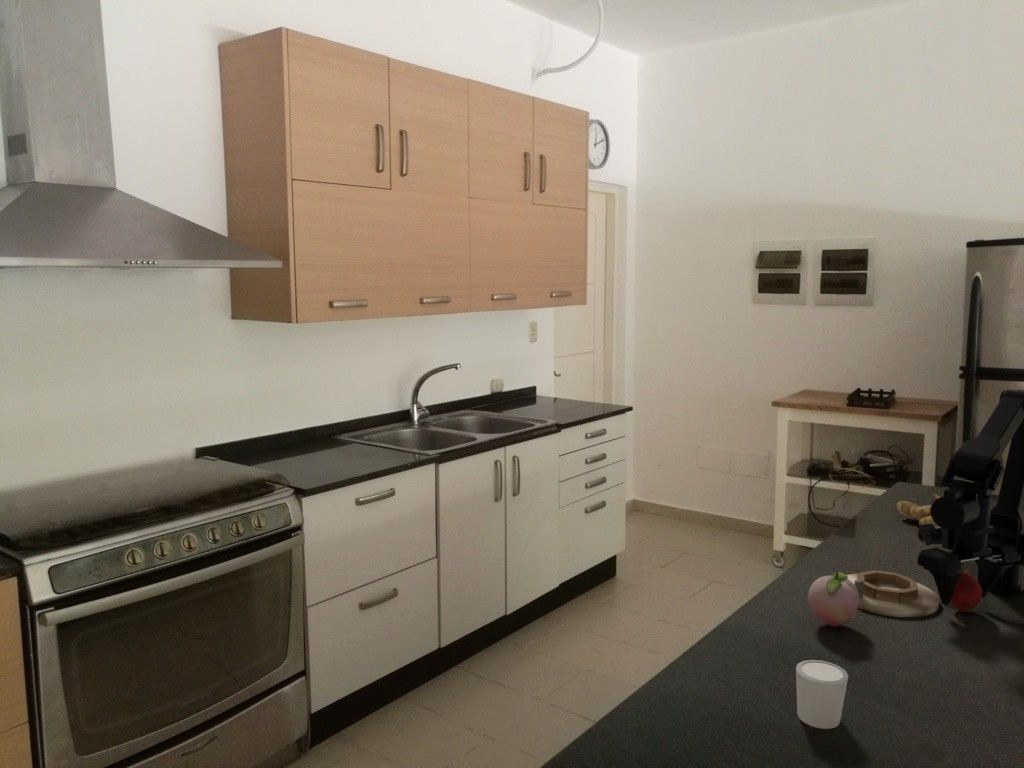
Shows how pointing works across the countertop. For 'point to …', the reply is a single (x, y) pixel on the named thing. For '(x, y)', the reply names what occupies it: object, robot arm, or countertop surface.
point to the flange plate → (900, 609)
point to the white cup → (820, 693)
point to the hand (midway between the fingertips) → (963, 600)
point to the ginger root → (917, 511)
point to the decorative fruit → (834, 599)
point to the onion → (966, 592)
